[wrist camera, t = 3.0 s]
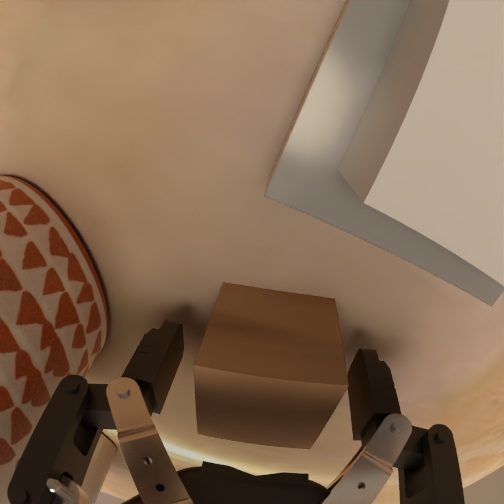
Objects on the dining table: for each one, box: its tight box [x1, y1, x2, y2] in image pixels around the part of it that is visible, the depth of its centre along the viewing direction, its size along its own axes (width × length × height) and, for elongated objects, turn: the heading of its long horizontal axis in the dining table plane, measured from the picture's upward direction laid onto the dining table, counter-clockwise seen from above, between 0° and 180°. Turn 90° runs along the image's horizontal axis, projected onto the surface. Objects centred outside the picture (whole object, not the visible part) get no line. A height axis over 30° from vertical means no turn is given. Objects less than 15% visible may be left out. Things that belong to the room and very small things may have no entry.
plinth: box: [264, 0, 504, 307], centre depth 6 cm, size 10×10×6 cm
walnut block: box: [194, 282, 349, 449], centre depth 12 cm, size 5×5×5 cm
